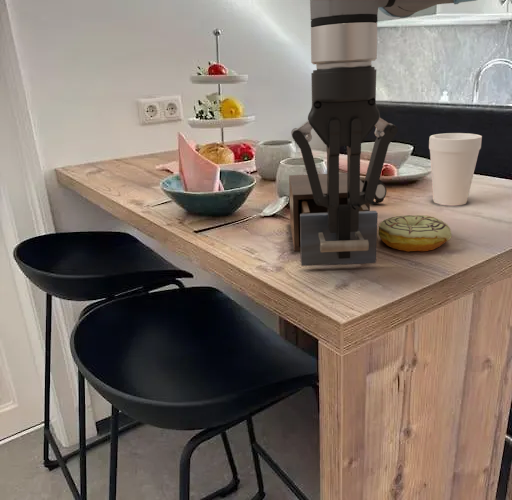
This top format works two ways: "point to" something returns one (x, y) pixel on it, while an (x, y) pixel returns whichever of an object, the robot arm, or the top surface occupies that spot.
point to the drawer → (324, 243)
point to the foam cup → (453, 166)
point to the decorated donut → (414, 232)
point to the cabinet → (302, 190)
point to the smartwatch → (380, 193)
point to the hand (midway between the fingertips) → (342, 254)
